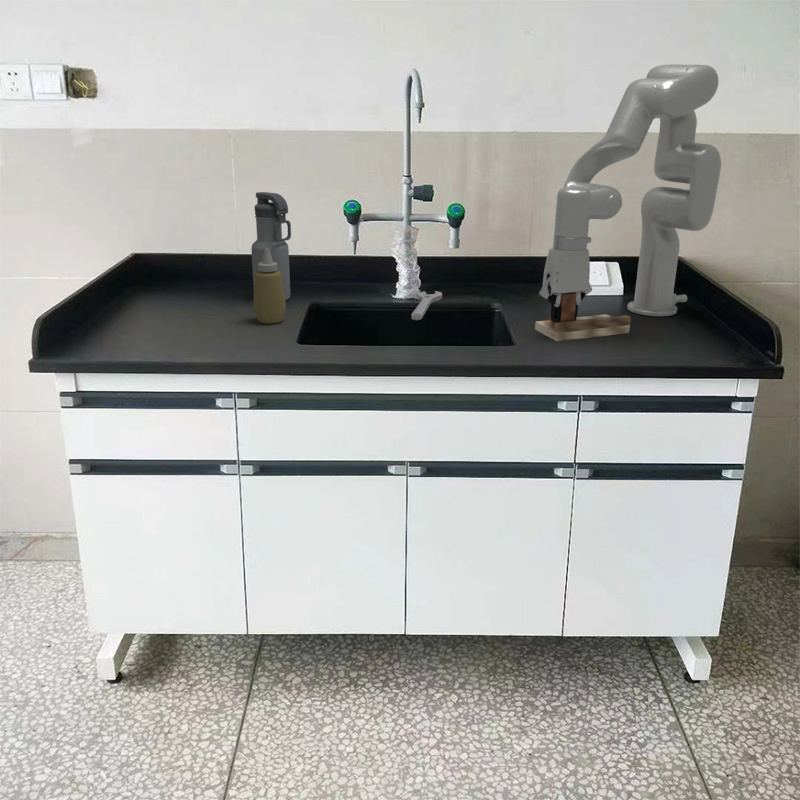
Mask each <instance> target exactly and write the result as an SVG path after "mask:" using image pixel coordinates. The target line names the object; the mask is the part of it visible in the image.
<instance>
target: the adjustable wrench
mask: <svg viewBox="0 0 800 800" xmlns="http://www.w3.org/2000/svg"><path fill="white" fill-rule="evenodd" d="M416 300H418V301H420V302H419V303H418V305H417V306H416V308H415V309H414V310H413V311H412V313H411V320H413V321H419V320H422V319H423V318H424V315H425V314H426V312H427V310H428V308H429V307H430V305H431V304H432V303H434V302H437V301H440V300H443V293H442V292H441V291H436V290H435V291H434V293H432V294H430V293H429V294H428V293H427V292H426V291H421V292H419V293H418V294H416Z"/></svg>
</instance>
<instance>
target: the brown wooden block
mask: <svg viewBox="0 0 800 800" xmlns="http://www.w3.org/2000/svg"><path fill="white" fill-rule="evenodd" d="M576 296H577V293H565V294H562V296H561V301H560V305H559V306H560V307H561V319H560V322H568V321H574V318H575V307H576ZM548 317H549V319H548V320H550V321H551V317H550V315H549V316H548ZM552 322H553V321H552ZM552 324H553V325H555V322H553V323H552Z"/></svg>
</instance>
